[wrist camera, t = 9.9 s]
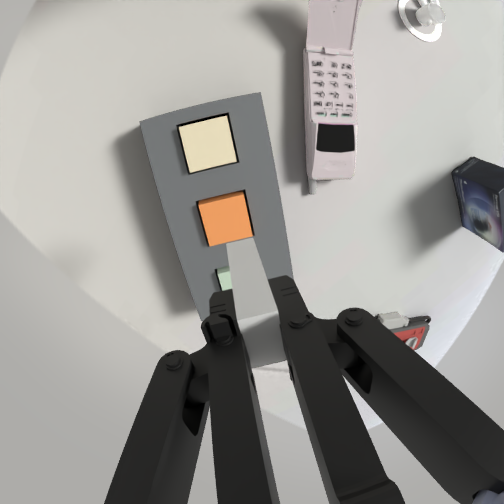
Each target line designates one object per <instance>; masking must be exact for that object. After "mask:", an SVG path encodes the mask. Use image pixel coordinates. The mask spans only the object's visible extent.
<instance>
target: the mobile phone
mask: <svg viewBox="0 0 504 504" xmlns="http://www.w3.org/2000/svg"><path fill="white" fill-rule="evenodd" d="M361 3H362V0H309V11H308V26H307V40H306V47H305V48H304V49H303V68H304V110H305V143H306V168H307V175H308V184H309V194H316V188H317V180H333V179H351V178H352V177H353V176H354V174H355V165H356V152H357V100H356V84H355V72H354V61H353V55H354V53H353V51H352V46H353V41H354V35H355V30H356V24H357V19H358V13H359V7H361ZM309 113H310V114H309Z"/></svg>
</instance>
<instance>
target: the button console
mask: <svg viewBox="0 0 504 504" xmlns="http://www.w3.org/2000/svg"><path fill="white" fill-rule="evenodd" d="M224 113H227V117H228V122H229V127H230V131H231V136H232V140H233V145H234V150H235V154H236V161H237V162H232V163H228V164H224V165H219V166H215V167H211V168H207V169H203V170H199V171H195V172H191V173H190V171H189V167H188V163H187V159H186V155H185V151H184V147H183V143H182V139H181V134H180V130H179V127H180V124H183V123H187V122H190V121H194V120H198V119H203V118H207V117H211V116H215V115H220V114H224ZM140 126H141V130H142V134H143V138H144V142H145V146H146V150H147V154H148V157H149V161H150V165H151V168H152V172H153V176H154V179H155V183H156V186H157V190H158V193H159V197H160V200H161V203H162V207H163V210H164V213H165V217H166V220H167V223H168V226H169V229H170V233H171V236H172V239H173V242H174V245H175V248H176V251H177V254H178V257H179V260H180V263H181V266H182V269H183V272H184V275H185V278H186V281H187V283H188V286H189V289H190V292H191V295H192V297H193V300H194V303H195V306H196V308H197V311H198V314H199V316H200V319H201V321H204V320H205V318H207V317H208V316H210V312H209V309H210V308H209V299H210V298H211V296H212V294H213V293H214V292H219V291H222V287H221V284H220V280H219V277H218V272H217V268H221V267H225V266H229V261H228V254H227V247H226V244H227V243H231V242H235V241H240V240H244V239H248V238H253V239H254V242H255V245H256V248H257V251H258V253H259V256H260V259H261V262H262V265H263V268H264V271H265V274H266V277H267V279H271V278H275V277H279V276H284V275H287V276H289V277H290V278H292V279H293V272H292V265H291V259H290V252H289V246H288V239H287V233H286V227H285V221H284V215H283V209H282V203H281V197H280V191H279V186H278V180H277V175H276V169H275V164H274V158H273V153H272V147H271V142H270V137H269V132H268V127H267V121H266V116H265V111H264V106H263V102H262V97H261V92H259V93H253V94H247V95H242V96H237V97H232V98H227V99H222V100H217V101H213V102H208V103H204V104H200V105H196V106H192V107H188V108H184V109H180V110H177V111H173V112H169V113H166V114H162V115H159V116H156V117H152V118H149V119H146V120H143V121H140ZM240 190H243V192H244V196H245V201H246V206H247V210H248V215H249V220H250V226H251V231H252V235H253V236H252V237H247V238H243V239H239V240H235V241H231V242H226V243H222V244H218V245H214V246H209V242H208V238H207V235H206V231H205V228H204V224H203V220H202V217H201V213H200V209H199V200H202V199H206V198H210V197H214V196H219V195H223V194H227V193H231V192H236V191H240ZM293 280H294V279H293Z"/></svg>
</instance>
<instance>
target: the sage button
mask: <svg viewBox="0 0 504 504" xmlns="http://www.w3.org/2000/svg"><path fill="white" fill-rule="evenodd" d="M217 272H218V277H219V280H220V284H221V287H222V291H223V290H228V289H232V283H231V276H230V269H229V266H225V267H221V268H217Z"/></svg>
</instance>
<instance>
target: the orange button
mask: <svg viewBox="0 0 504 504" xmlns="http://www.w3.org/2000/svg"><path fill="white" fill-rule="evenodd" d="M199 209H200V213H201V217H202V220H203V224H204V228H205V231H206V235H207V238H208V242H209V246H214V245H218V244H222V243H226V242H231V241H235V240H239V239H243V238H247V237H252V236H253V235H252V231H251V226H250V221H249V217H248V212H247V207H246V203H245V198H244V194H243V192H242V190H240V191H236V192H231V193H227V194H223V195H219V196H214V197H210V198H206V199H202V200H199Z"/></svg>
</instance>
